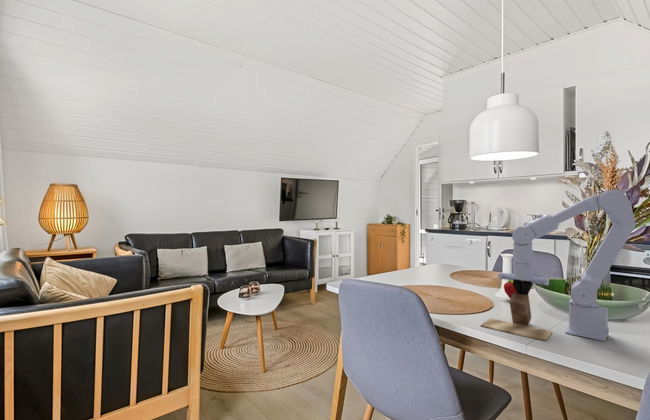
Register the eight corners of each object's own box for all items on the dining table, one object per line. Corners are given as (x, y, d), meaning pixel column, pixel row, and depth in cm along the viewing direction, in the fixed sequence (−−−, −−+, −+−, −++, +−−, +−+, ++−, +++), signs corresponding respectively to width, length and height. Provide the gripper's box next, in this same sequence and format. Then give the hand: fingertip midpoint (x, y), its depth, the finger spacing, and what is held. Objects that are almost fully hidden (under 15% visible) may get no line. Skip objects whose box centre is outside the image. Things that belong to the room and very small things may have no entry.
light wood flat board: (552, 332, 104) (552, 331, 104) (545, 341, 97) (545, 340, 97) (490, 319, 117) (490, 318, 117) (480, 326, 110) (480, 325, 110)
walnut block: (531, 317, 112) (528, 295, 110) (528, 326, 110) (525, 304, 107) (516, 314, 116) (513, 292, 113) (512, 323, 113) (509, 301, 110)
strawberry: (526, 301, 137) (526, 277, 137) (510, 303, 136) (510, 278, 136) (515, 298, 143) (515, 274, 143) (499, 299, 142) (500, 275, 141)
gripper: (551, 263, 111) (551, 305, 111) (503, 259, 121) (503, 297, 121) (546, 266, 106) (546, 309, 106) (496, 261, 116) (496, 301, 116)
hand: (522, 303), depth 113 cm, fingers closed
